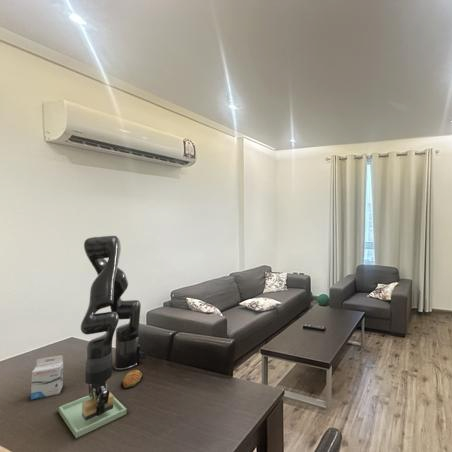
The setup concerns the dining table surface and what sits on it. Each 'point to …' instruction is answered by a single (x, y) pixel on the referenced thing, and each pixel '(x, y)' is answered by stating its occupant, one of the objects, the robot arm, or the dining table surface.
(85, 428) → the tray
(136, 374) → the pastry
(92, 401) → the eraser
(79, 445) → the dining table surface
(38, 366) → the ink box
